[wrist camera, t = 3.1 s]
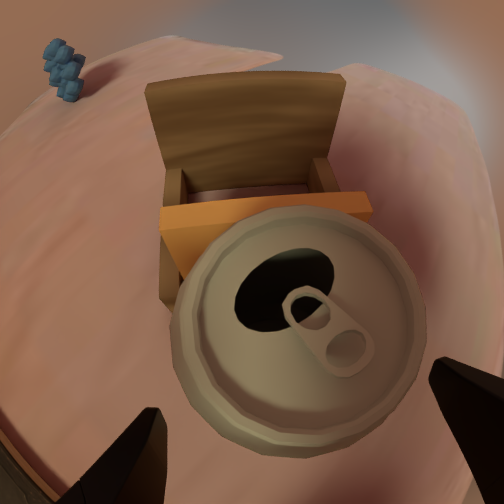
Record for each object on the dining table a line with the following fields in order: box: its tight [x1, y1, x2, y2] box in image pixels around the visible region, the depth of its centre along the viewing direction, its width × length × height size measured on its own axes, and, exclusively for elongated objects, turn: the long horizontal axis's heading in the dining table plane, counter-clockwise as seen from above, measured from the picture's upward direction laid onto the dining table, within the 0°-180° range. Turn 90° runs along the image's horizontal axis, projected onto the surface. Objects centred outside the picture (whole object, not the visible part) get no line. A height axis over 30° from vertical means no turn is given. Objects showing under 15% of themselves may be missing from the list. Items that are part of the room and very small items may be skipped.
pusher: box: [159, 191, 373, 280], centre depth 15 cm, size 1×9×8 cm, turn 97°
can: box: [170, 204, 426, 458], centre depth 11 cm, size 8×8×12 cm
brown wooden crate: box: [144, 71, 346, 313], centre depth 17 cm, size 11×12×10 cm
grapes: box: [43, 38, 86, 102], centre depth 27 cm, size 12×7×12 cm, turn 54°
